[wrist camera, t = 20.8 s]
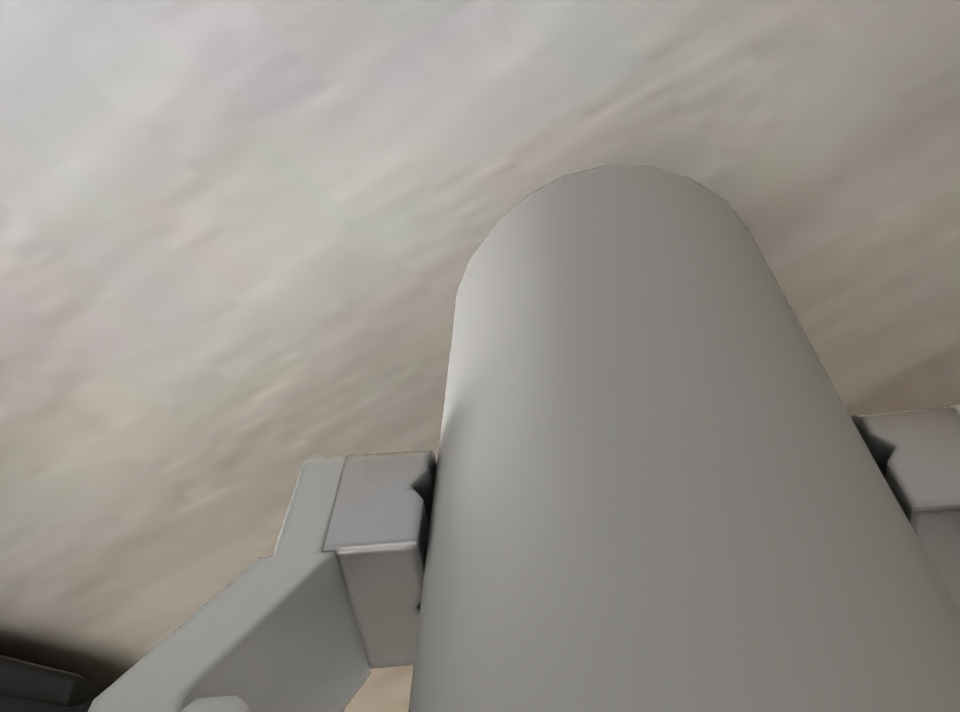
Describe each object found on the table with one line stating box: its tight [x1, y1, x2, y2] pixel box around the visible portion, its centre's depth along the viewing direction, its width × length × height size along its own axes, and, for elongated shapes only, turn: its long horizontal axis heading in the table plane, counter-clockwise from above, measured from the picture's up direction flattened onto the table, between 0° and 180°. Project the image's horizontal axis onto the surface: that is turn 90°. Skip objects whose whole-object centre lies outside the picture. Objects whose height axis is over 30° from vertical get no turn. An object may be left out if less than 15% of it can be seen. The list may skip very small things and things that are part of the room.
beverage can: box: [409, 166, 960, 712], centre depth 9 cm, size 5×5×12 cm
